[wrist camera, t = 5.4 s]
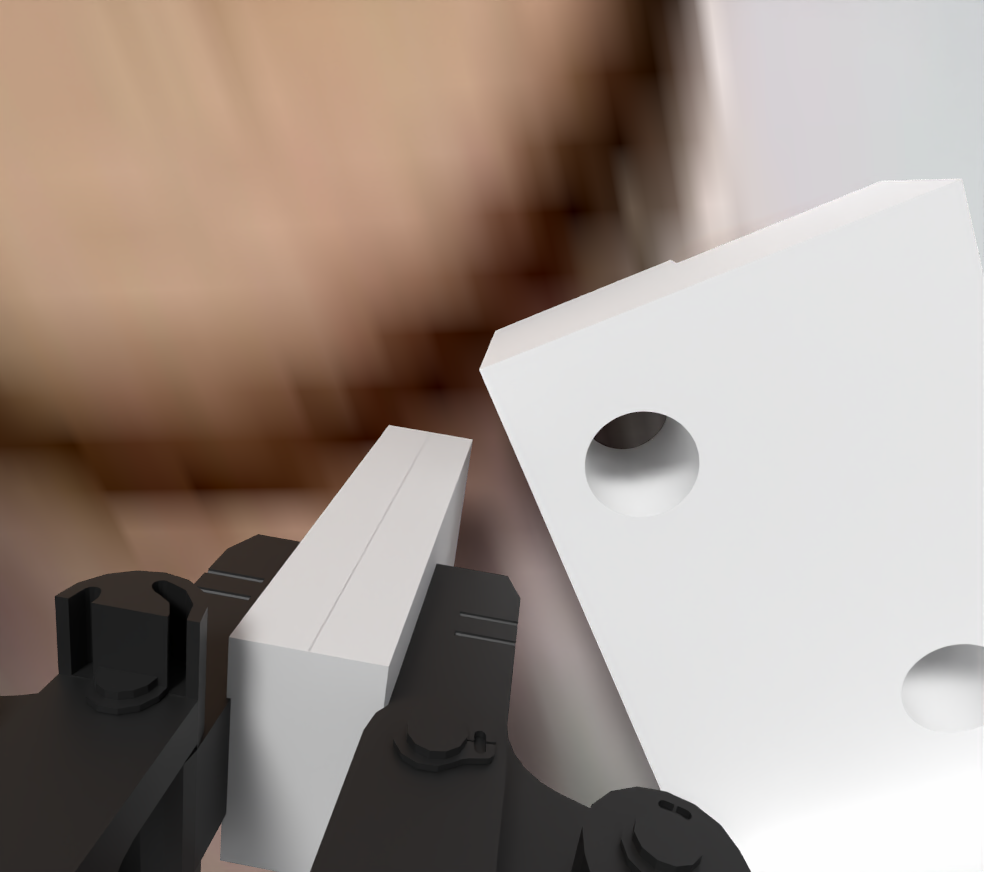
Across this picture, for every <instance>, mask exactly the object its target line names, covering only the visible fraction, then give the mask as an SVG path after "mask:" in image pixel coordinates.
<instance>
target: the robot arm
mask: <svg viewBox="0 0 984 872" xmlns="http://www.w3.org/2000/svg"><path fill="white" fill-rule="evenodd" d="M472 441H473V440H472V439H466V438H461V437H455V436H449V435H443V434H437V433H432V432H426V431H420V430H414V429H408V428H402V427H397V426H391V425H389V426H388V427H387V429H386V430H385V431H384V433H383V434H382V435H381V437H380V438H379V439H378V441H377V442H376V443H375V444H374V446H373V447H372V448H371V450H370V451H369V452H368V454H367V455H366V456H365V458H364V459H363V460H362V462H361V463H360V464H359V466H358V467H357V468H356V470H355V471H354V472H353V474H352V475H351V476H350V478H349V479H348V480H347V482H346V483H345V484H344V485H343V487H342V488H341V489H340V491H339V492H338V493H337V495H336V496H335V497H334V499H333V500H332V501H331V503H330V504H329V505H328V507H327V508H326V509H325V511H324V512H323V513H322V515H321V516H320V517H319V519H318V520H317V521H316V522H315V524H314V525H313V526H312V528H311V529H310V530H309V532H308V533H307V534H306V536H305V537H304V538H303V540H302V541H301V542H298V541H293V540H287V539H281V538H276V537H270V536H265V535H259V534H258V535H256V536H254V537H251V538H249V539H247V540H245V541H243V542H241V543H239V544H236V545H234V546H232V547H230V548H228V549H227V550H226V551H225V552H224V553H223V554H222V555H221V556H220V557H219V558H218V559H217V560H216V561H215V563H214V564H213V565H212V566H211V567H210V568H209V570H208V573H204V574H203V575H202V576H201V577H200V578H199V579H198V580H197V581H196V583H195V584H193V583H192V582H191V581H189V580H187V579H184V578H181V577H178V576H174V575H171V574H168V573H163V572H149V571H130V572H121V573H112V574H106V575H102V576H99V577H96V578H92V579H89V580H86V581H82V582H79V583H77V584H75V585H73V586H72V587H70V588H68V589H66V590H65V591H63V592H61V593H59V594H58V595H56V596H55V608H56V628H57V648H58V668H59V674H58V675H57V676H56V677H55V678H54V679H53V680H52V681H51V682H50V683H49V684H48V685H47V686H46V687H45V688H43V689H42V690H41V691H40V692H39V693H38V694H29V695H19V696H0V872H201V859H202V857H203V856H204V854H205V852H206V850H207V848H208V846H209V845H210V843H211V841H212V839H213V837H214V835H215V833H216V832H217V830H218V828H219V826H220V824H221V822H222V828H221V854H220V860H222V861H227V862H232V863H237V864H242V865H247V866H252V867H257V868H262V869H267V870H272V871H277V872H751V871H750V869H749V867H748V865H747V863H746V861H745V859H744V857H743V855H742V854H741V852H740V850H739V849H738V847H737V846H736V845H735V843H734V842H733V841H732V839H731V838H730V837H729V835H728V834H727V832H726V831H725V830H724V828H723V827H722V826H721V825H720V824H719V823H718V822H717V821H715V820H714V819H713V818H712V817H710V816H709V815H708V814H706V813H705V812H704V811H703V810H701V809H700V808H699V807H698V806H696V805H695V804H693V803H691V802H689V801H686V800H684V799H682V798H680V797H677V796H675V795H673V794H671V793H669V792H666V791H661V790H655V789H648V788H642V787H632V788H626V789H621V790H615V791H611V792H609V793H608V794H606V795H605V796H604V797H602V798H601V799H599V800H598V801H596V802H595V803H594V804H592V806H591V808H588V807H586V806H584V805H582V804H580V803H578V802H576V801H574V800H572V799H569V798H567V797H565V796H563V795H561V794H559V793H558V792H556V791H554V790H553V789H551V788H549V787H547V786H546V785H544V784H542V783H541V782H540V781H539V780H538V779H536V778H535V777H534V776H533V775H532V774H531V773H530V772H528V771H527V770H526V769H525V768H524V766H523V765H522V764H521V762H520V761H519V759H518V758H517V757H516V755H515V754H514V752H513V749H512V747H511V744H510V742H509V739H508V729H507V720H508V711H509V701H510V692H511V682H512V673H513V663H514V654H515V643H516V635H517V624H518V616H519V607H520V597H519V595H518V594H517V592H516V590H515V588H514V587H513V585H512V583H511V581H510V580H509V578H508V576H503V575H498V574H492V573H486V572H481V571H475V570H470V569H464V568H458V567H454V562H455V555H456V548H457V542H458V535H459V528H460V521H461V515H462V508H463V501H464V495H465V488H466V481H467V474H468V468H469V461H470V454H471V447H472Z"/></svg>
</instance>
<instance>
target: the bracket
mask: <svg viewBox="0 0 984 872" xmlns="http://www.w3.org/2000/svg"><path fill="white" fill-rule="evenodd" d="M479 370H480V373H481V375H482V377H483V380H484V382H485V384H486V386H487V389H488V391H489V393H490V396H491V398H492V400H493V403H494V405H495V407H496V410H497V412H498V414H499V417H500V419H501V421H502V424H503V426H504V428H505V430H506V433H507V435H508V437H509V440H510V442H511V444H512V447H513V449H514V451H515V454H516V456H517V458H518V461H519V463H520V465H521V468H522V470H523V472H524V474H525V477H526V479H527V481H528V484H529V486H530V488H531V491H532V493H533V495H534V498H535V500H536V502H537V505H538V507H539V509H540V512H541V514H542V516H543V519H544V521H545V523H546V525H547V528H548V530H549V532H550V535H551V537H552V539H553V542H554V544H555V546H556V549H557V551H558V553H559V556H560V558H561V560H562V563H563V565H564V567H565V569H566V572H567V574H568V576H569V579H570V581H571V583H572V586H573V588H574V590H575V593H576V595H577V597H578V600H579V602H580V604H581V607H582V609H583V611H584V613H585V616H586V618H587V620H588V623H589V625H590V627H591V630H592V632H593V634H594V637H595V639H596V641H597V644H598V646H599V648H600V651H601V653H602V655H603V657H604V660H605V662H606V664H607V667H608V669H609V671H610V674H611V676H612V678H613V681H614V683H615V685H616V688H617V690H618V692H619V695H620V697H621V699H622V702H623V704H624V706H625V708H626V711H627V713H628V715H629V718H630V720H631V722H632V725H633V727H634V729H635V732H636V734H637V736H638V739H639V741H640V743H641V746H642V748H643V750H644V752H645V755H646V757H647V759H648V762H649V764H650V766H651V769H652V771H653V773H654V776H655V778H656V780H657V783H658V785H659V787H660V790H661V791H666V792H669V793H671V794H673V795H675V796H677V797H680V798H682V799H684V800H686V801H689V802H691V803H693V804H695V805H696V806H698V807H699V808H700V809H701V810H703V811H704V812H705V813H706V814H708V815H709V816H710V817H712V818H713V819H714V820H715V821H717V822H718V823H719V824H720V825H721V826H722V827H723V828H724V830H725V831H726V832H727V834H728V835H729V837H730V838H731V839H732V841H733V842H734V843H735V845H736V846H737V847H738V849H739V850H740V852H741V854H742V855H743V857H744V859H745V861H746V863H747V865H748V867H749V869H750V871H751V872H984V274H983V269H982V265H981V260H980V256H979V251H978V247H977V242H976V238H975V233H974V229H973V224H972V220H971V215H970V211H969V207H968V202H967V198H966V193H965V189H964V184H963V180H962V179H929V180H891V181H879V182H877V183H874V184H872V185H869V186H867V187H864V188H862V189H859V190H857V191H854V192H852V193H849V194H847V195H845V196H842V197H840V198H837V199H835V200H832V201H830V202H827V203H825V204H822V205H820V206H817V207H815V208H812V209H810V210H807V211H805V212H802V213H800V214H797V215H795V216H792V217H790V218H788V219H785V220H783V221H780V222H778V223H775V224H773V225H770V226H768V227H765V228H763V229H760V230H758V231H755V232H753V233H750V234H748V235H745V236H743V237H740V238H738V239H735V240H733V241H730V242H728V243H726V244H723V245H721V246H718V247H716V248H713V249H711V250H708V251H706V252H703V253H701V254H698V255H696V256H693V257H691V258H688V259H686V260H683V261H681V262H678V263H675V262H674V261H672V260H669V261H667V262H664V263H662V264H659V265H657V266H654V267H652V268H649V269H647V270H645V271H642V272H640V273H637V274H635V275H632V276H630V277H627V278H625V279H622V280H620V281H617V282H615V283H612V284H610V285H607V286H605V287H603V288H600V289H598V290H595V291H593V292H590V293H588V294H585V295H583V296H580V297H578V298H575V299H573V300H570V301H568V302H565V303H563V304H561V305H558V306H556V307H553V308H551V309H548V310H546V311H543V312H541V313H538V314H536V315H533V316H531V317H528V318H526V319H524V320H521V321H519V322H516V323H514V324H511V325H509V326H506V327H504V328H501V329H499V330H496V331H495V333H494V336H493V338H492V340H491V343H490V345H489V348H488V350H487V352H486V355H485V357H484V360H483V362H482V364H481V367H480V369H479ZM640 411H648V412H656V413H660V414H663V415H666V416H667V418H666V421H665V423H664V425H663V427H662V428H661V430H660V431H659V432H658V433H657V434H656V435H655V436H654V437H653V438H652V439H651V440H649V441H648V442H646V443H645V444H643V445H640V446H638V447H634V448H630V449H614V448H610V447H607V446H604V445H602V444H600V443H598V442H597V441H595V440H594V439H593V438H594V436H595V435H596V434H597V432H598V431H599V430H600V429H601V428H602V427H603V426H605V425H606V424H607V423H609V422H610V421H612V420H613V419H615V418H617V417H619V416H622V415H625V414H628V413H632V412H640Z"/></svg>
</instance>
